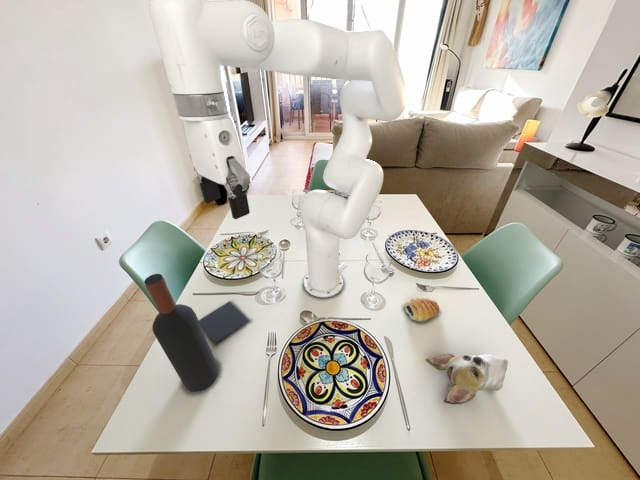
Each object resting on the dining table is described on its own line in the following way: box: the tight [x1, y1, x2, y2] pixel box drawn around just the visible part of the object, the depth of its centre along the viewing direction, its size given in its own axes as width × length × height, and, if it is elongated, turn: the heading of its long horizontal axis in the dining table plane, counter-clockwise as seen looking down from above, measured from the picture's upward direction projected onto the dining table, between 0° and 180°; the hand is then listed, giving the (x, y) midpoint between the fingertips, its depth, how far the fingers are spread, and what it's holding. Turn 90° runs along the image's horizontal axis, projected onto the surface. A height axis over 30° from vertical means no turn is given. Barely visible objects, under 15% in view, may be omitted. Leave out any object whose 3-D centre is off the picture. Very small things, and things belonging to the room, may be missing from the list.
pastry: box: [403, 297, 440, 323], centre depth 75 cm, size 9×7×4 cm
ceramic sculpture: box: [424, 353, 509, 405], centre depth 57 cm, size 11×9×15 cm
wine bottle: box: [143, 273, 219, 393], centre depth 54 cm, size 8×8×30 cm
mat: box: [198, 301, 250, 345], centre depth 74 cm, size 10×10×1 cm
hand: (226, 207), depth 50 cm, fingers open, 9 cm apart
